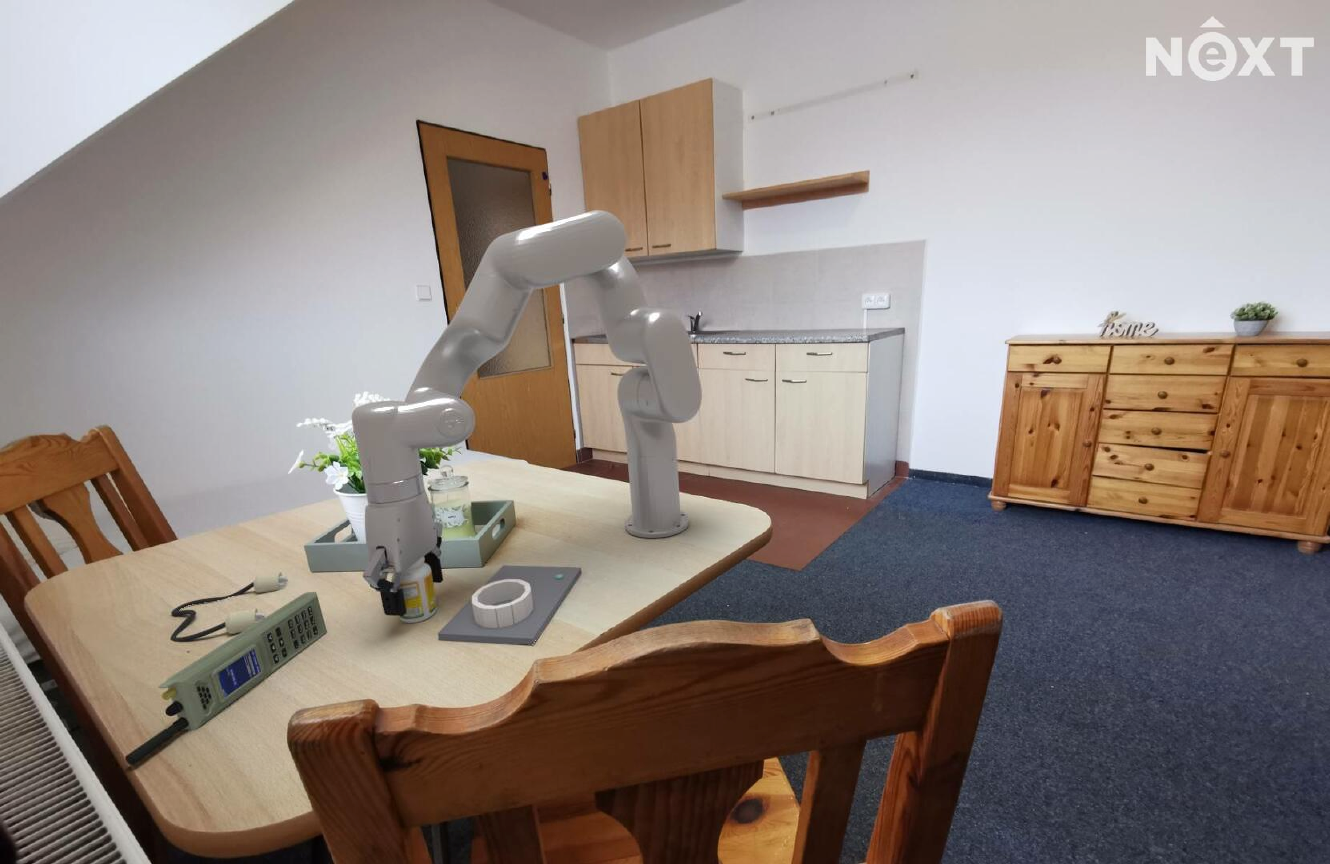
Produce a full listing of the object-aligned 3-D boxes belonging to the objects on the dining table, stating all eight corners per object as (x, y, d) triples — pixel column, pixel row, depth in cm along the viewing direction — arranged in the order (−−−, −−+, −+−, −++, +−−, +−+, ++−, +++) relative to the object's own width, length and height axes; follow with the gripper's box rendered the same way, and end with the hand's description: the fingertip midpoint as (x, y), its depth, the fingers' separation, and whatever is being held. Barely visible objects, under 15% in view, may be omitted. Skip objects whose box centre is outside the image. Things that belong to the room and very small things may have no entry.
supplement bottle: (410, 628, 82) (398, 567, 79) (393, 616, 85) (381, 558, 83) (444, 611, 85) (434, 553, 83) (427, 600, 89) (417, 544, 87)
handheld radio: (331, 633, 82) (145, 773, 58) (313, 632, 83) (121, 770, 59) (320, 591, 81) (124, 718, 57) (301, 591, 81) (100, 716, 58)
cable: (134, 662, 78) (127, 640, 78) (181, 607, 93) (175, 588, 93) (265, 632, 84) (260, 611, 83) (290, 584, 99) (286, 566, 98)
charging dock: (504, 570, 97) (501, 549, 96) (581, 573, 95) (579, 551, 94) (438, 639, 78) (434, 614, 77) (533, 645, 75) (529, 618, 75)
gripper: (409, 469, 89) (426, 569, 94) (326, 510, 73) (352, 629, 77) (452, 469, 88) (468, 570, 92) (378, 511, 71) (401, 632, 76)
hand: (415, 597), depth 85 cm, fingers open, 8 cm apart
